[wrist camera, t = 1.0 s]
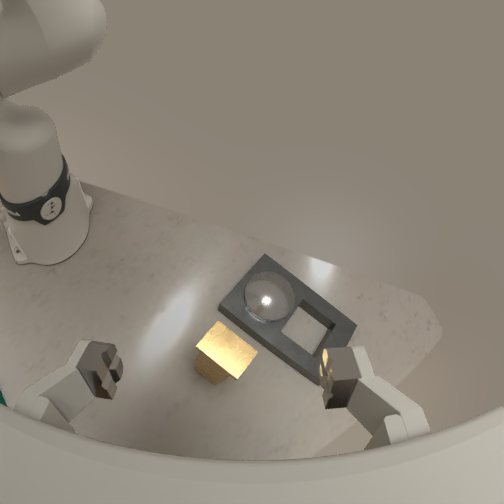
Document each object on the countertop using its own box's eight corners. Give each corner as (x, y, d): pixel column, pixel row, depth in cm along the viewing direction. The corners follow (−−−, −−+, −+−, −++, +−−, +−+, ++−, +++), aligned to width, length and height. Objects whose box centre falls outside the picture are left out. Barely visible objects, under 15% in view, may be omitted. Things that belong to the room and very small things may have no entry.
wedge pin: (188, 366, 39) (195, 345, 27) (204, 348, 41) (218, 320, 29) (217, 389, 38) (237, 378, 27) (232, 370, 40) (258, 352, 29)
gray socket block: (217, 309, 45) (220, 301, 42) (260, 260, 51) (266, 250, 49) (317, 385, 42) (327, 383, 39) (349, 329, 49) (359, 323, 46)
